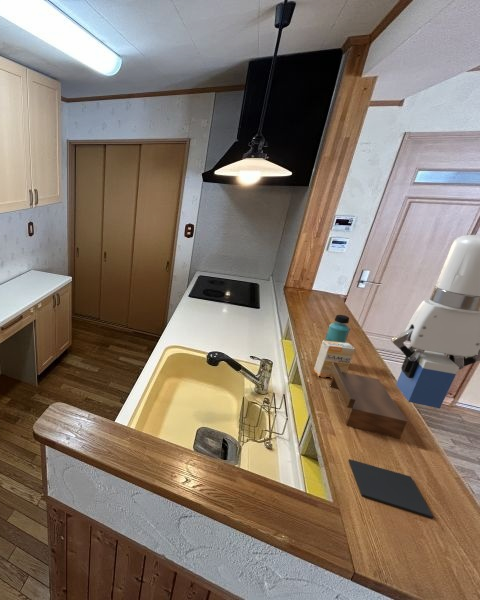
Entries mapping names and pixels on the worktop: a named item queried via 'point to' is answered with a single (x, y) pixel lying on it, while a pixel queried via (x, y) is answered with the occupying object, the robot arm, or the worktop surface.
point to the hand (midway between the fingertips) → (424, 377)
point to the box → (429, 380)
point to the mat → (389, 488)
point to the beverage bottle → (338, 329)
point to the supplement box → (333, 357)
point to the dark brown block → (368, 403)
